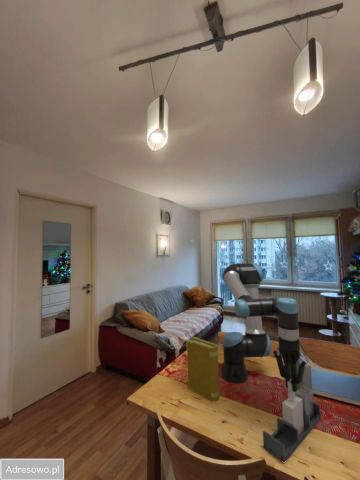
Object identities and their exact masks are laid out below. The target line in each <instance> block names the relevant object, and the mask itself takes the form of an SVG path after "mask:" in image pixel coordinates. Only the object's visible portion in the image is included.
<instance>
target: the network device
mask: <svg viewBox="0 0 360 480" xmlns="http://www.w3.org/2000/svg"><path fill="white" fill-rule="evenodd" d="M300 353H301V357H302V358H303V359H304V360H307V361H308V358H306V356H305V355H304V354H303V352H302V351H301V350H300ZM299 361H300V360H298V361H297V364H296V367H297V374H298V369H299V365H300V363H299ZM290 375H291V368H290ZM290 379H291V378H290ZM312 382H313V381H312V367H311V364H310V362H309V361H308V363H307V364H306V365H305V369H304V374H303V379H302V382H301V383H300V384H297V390H298V389H299V388H300V387H301V386H303V385H304V386H306V387H308V388H310V389H313V383H312Z"/></svg>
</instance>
